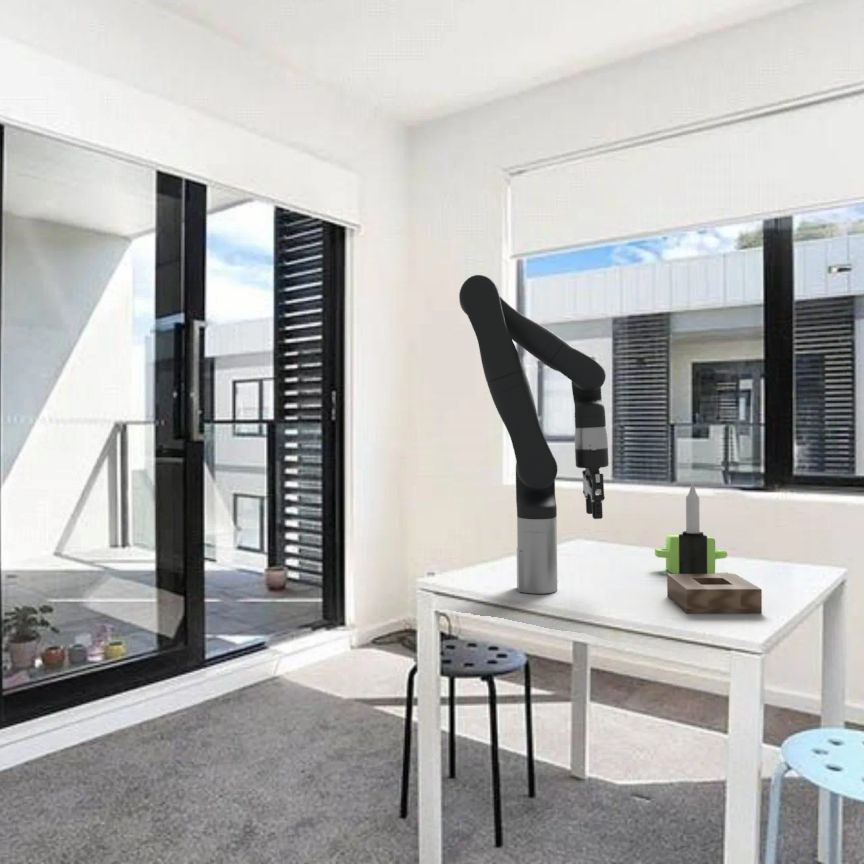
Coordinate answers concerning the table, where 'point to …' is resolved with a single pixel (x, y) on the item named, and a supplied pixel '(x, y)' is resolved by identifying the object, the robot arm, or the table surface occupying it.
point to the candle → (692, 539)
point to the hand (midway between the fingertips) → (594, 516)
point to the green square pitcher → (673, 554)
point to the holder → (714, 593)
